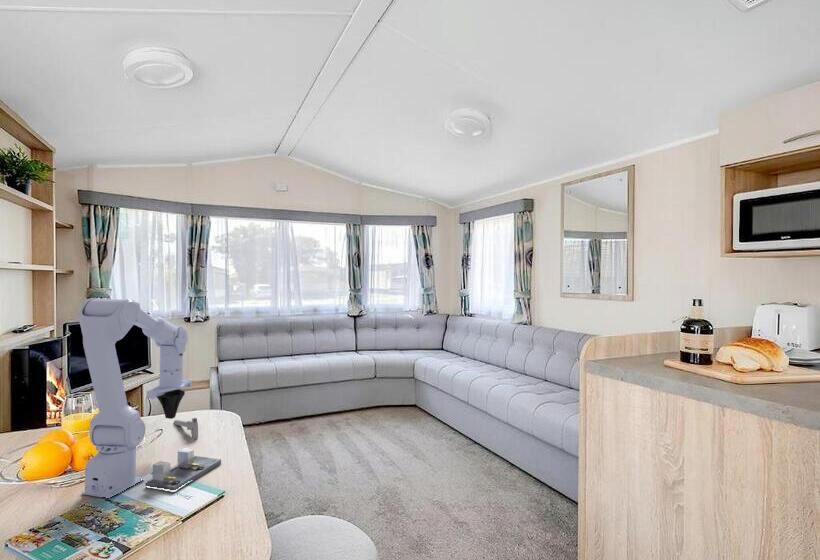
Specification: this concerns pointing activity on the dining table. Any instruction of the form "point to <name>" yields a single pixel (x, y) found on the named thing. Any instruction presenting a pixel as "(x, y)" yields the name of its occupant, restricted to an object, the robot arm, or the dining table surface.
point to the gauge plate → (180, 473)
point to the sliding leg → (186, 458)
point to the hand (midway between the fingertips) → (170, 417)
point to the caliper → (189, 426)
